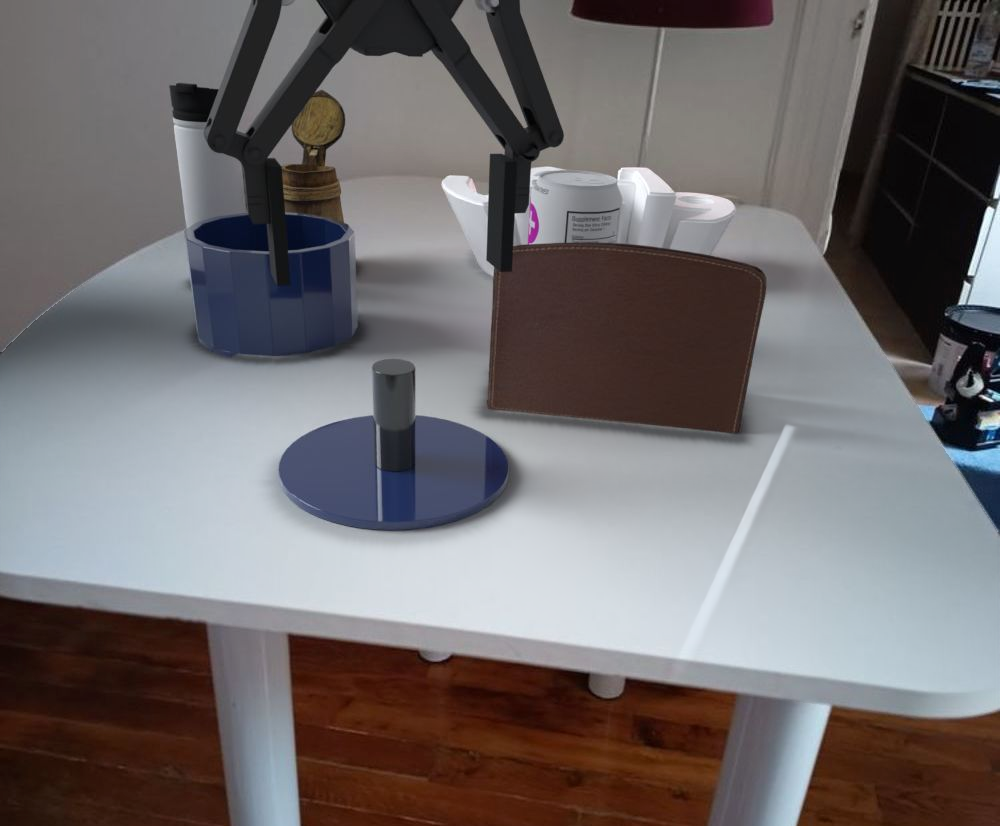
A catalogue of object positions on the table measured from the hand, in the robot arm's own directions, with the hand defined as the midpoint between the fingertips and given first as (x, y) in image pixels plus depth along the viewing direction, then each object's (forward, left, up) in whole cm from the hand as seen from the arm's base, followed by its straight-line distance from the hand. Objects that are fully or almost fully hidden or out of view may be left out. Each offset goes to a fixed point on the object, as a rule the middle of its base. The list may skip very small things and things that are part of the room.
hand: (393, 273), depth 56 cm
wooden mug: (-34, +40, -15) cm, 55 cm away
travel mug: (-38, +28, -15) cm, 50 cm away
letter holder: (+9, +20, -15) cm, 26 cm away
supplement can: (0, +32, -15) cm, 35 cm away
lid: (0, 0, -14) cm, 14 cm away
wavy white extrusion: (-7, +56, -15) cm, 59 cm away
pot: (-24, +19, -14) cm, 34 cm away
